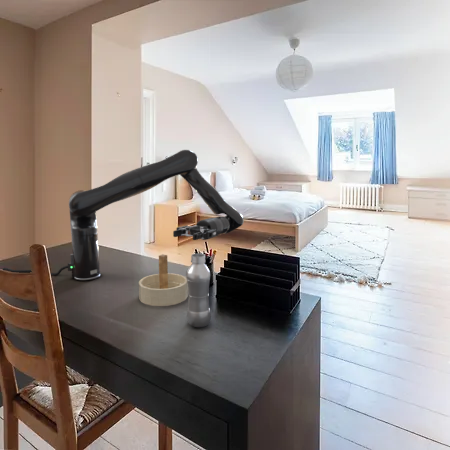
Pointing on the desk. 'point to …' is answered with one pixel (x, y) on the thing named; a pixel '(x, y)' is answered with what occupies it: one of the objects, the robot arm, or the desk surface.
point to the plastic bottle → (198, 292)
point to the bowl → (163, 290)
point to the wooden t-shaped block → (163, 271)
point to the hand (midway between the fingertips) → (183, 235)
